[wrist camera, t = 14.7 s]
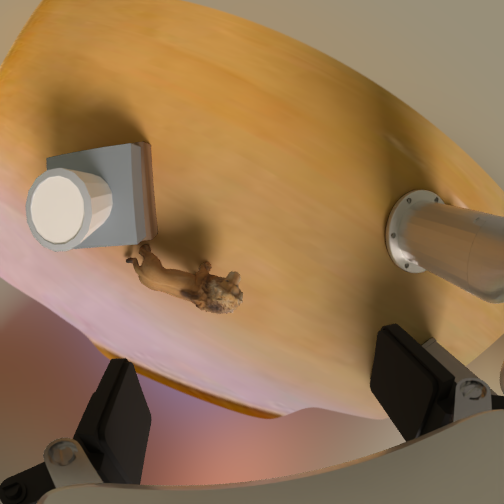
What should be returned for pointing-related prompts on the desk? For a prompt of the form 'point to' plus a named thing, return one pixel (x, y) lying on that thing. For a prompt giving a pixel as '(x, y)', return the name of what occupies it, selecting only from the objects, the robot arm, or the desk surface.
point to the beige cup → (67, 207)
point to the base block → (148, 191)
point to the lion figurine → (190, 283)
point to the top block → (122, 187)
